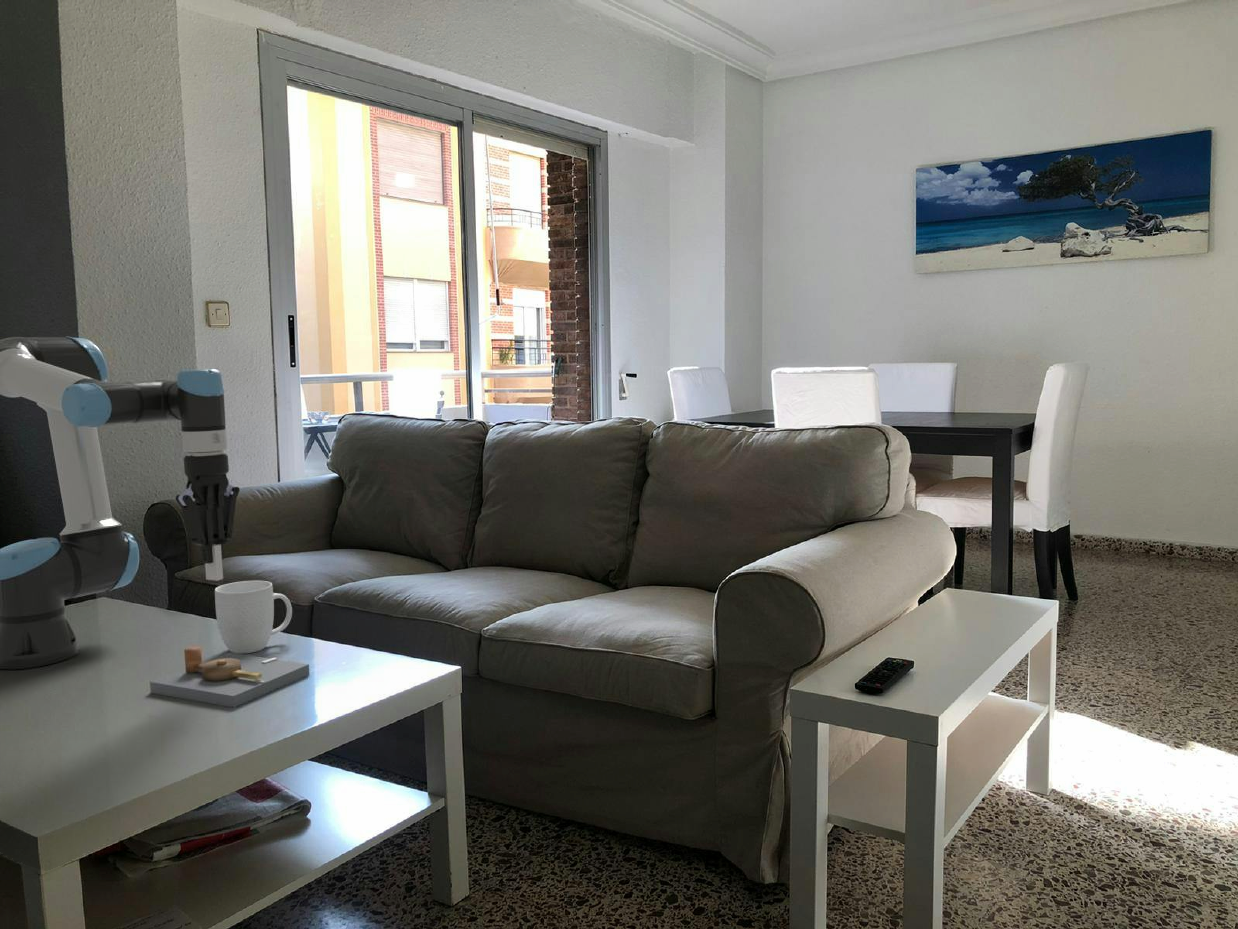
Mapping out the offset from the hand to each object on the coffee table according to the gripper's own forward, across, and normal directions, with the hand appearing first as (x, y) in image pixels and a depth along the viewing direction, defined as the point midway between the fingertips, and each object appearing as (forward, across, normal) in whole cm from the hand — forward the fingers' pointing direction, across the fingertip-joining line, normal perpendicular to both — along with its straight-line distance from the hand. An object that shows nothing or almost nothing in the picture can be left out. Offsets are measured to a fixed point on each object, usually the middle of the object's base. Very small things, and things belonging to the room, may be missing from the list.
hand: (214, 579), depth 179 cm
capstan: (+16, -6, -7) cm, 18 cm away
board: (+18, -4, -7) cm, 20 cm away
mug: (+18, +14, +6) cm, 24 cm away
